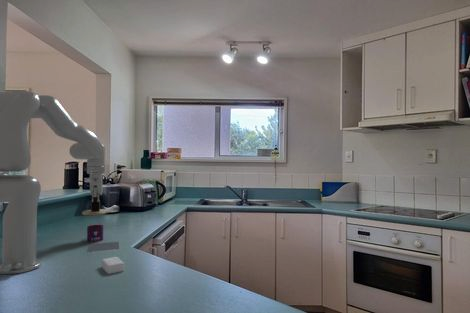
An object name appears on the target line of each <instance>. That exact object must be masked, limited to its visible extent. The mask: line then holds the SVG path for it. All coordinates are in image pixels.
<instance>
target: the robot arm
mask: <svg viewBox="0 0 470 313" xmlns="http://www.w3.org/2000/svg"><path fill="white" fill-rule="evenodd" d="M31 119H41V120H42V121H43V122H45V124H46V125H47V126H48V127H49V128H50V129H51V130H52V132H53V133H54V134H55V135H56V136H58V137H60V138H63V139H66V140H69V141H73V142H75V143H73V144H72V145H71V146H70V148H69V149H68V151H69V154H70V156H71V157H72V158H73V159H75V160H86V174H88V175H89V192H90V196H91V197H92V198H91V200H92V208H91V207H90V210H92V211H99V200H100V196H102V195H103V183H104V182H103V175H104V174H105V171H106V170H105V167H106V166H105V164H106V163H105V162H106V157H105V156H106V153H105V152H106V149H105V148H106V146H105V145H104V144H103V143H102V141H101V140H100V138H98V136H97V135H96V134H95V133H94V132H92V131H91V130H89V129H87V128H86V127H84V126H82V125H81V124H79V123H77V122H75V120H74V118H72V116H70V114H69V113H68V112H67V111H66V109H65V108H64V106H63V105H62V104H61V103H60V102H59V100H57V98H56V97H54V96H52V95H46V94H45V95H38V94H36V93H35V92H32V91H26V90H20V91H19V90H17V91H2V92H0V203H8V205H7V206H6V208H5V210H4V213H3V215H2V216H3V217H2V247H1V248H2V253H1V254H2V258H1V260H2V261H1V264H0V274H1V275H12V274H13V275H14V274H23V273H26V272H30V271H33V270H35V269H36V270H37V269H38V268H39V267H41V266H42V260H41V259H38V258H37V237H38V236H37V233H38V232H37V228H38V227H37V221H38V220H37V218H38V217H37V216H38V205H39V204H38V203H39V199H40V196H41V189H42V188H41V187H42V186H41V183H40V182H39V180H38V179H37V178H36V177H34V176H32V175H28V174H10V173H11V172H13V173H15V172H23V171H26V170H27V169H29V167H30V166H31V163H32V162H31V161H32V157H31V152H30V146H29V140H28V139H29V138H28V132H27V128H28V124H29V122H30V120H31Z"/></svg>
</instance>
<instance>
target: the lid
mask: <svg viewBox="0 0 470 313" xmlns="http://www.w3.org/2000/svg"><path fill="white" fill-rule="evenodd" d="M91 208H92V199H91V200H90V209H87V210H83V211H82V212H81V215H82V216H98V215H99V216H100V215H105V214H108V213H109V210H108V209H106V208H105V209H103V208H102V209H101V200H100V199H99V211H92V210H91Z"/></svg>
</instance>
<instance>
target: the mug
mask: <svg viewBox="0 0 470 313" xmlns="http://www.w3.org/2000/svg"><path fill="white" fill-rule="evenodd" d="M102 241H104V224H92V225H91V224H90V225H87V228H86V242H87V243H97V242H98V243H100V242H102Z"/></svg>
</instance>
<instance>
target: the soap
mask: <svg viewBox="0 0 470 313" xmlns="http://www.w3.org/2000/svg"><path fill="white" fill-rule="evenodd" d="M101 268H102V269H103V270H104V271H105V272H106V274H108V275H111V274H116V273H120V272H124V271H125V263H124V262H123V261H122V260H121V259H120V258H119V257H118V256H113V257H108V258H103V259H101Z"/></svg>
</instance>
